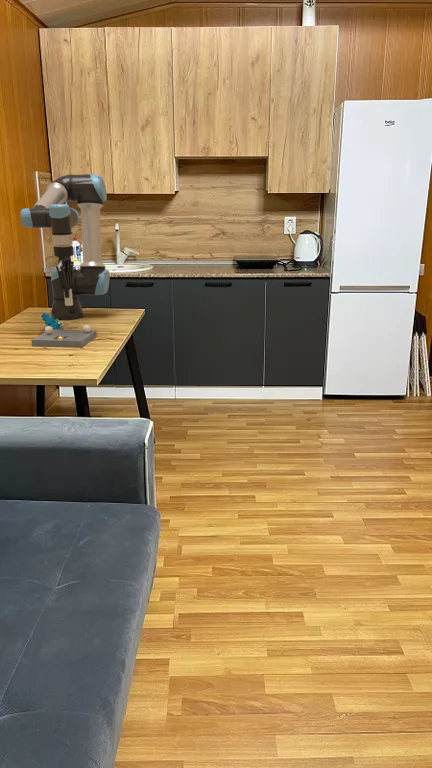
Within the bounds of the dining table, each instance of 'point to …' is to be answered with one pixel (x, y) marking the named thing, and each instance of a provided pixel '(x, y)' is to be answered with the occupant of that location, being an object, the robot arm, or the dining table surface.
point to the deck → (71, 338)
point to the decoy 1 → (48, 330)
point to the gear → (51, 321)
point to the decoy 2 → (87, 328)
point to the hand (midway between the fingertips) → (69, 305)
